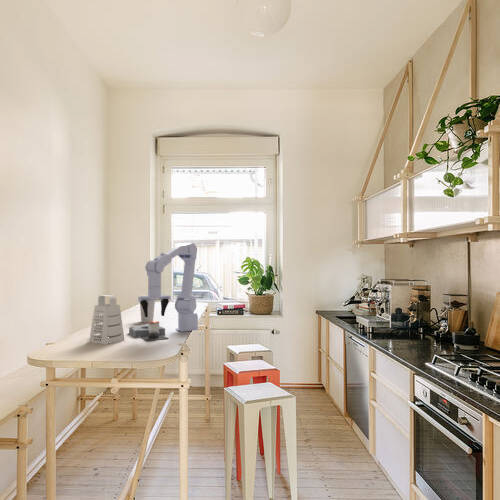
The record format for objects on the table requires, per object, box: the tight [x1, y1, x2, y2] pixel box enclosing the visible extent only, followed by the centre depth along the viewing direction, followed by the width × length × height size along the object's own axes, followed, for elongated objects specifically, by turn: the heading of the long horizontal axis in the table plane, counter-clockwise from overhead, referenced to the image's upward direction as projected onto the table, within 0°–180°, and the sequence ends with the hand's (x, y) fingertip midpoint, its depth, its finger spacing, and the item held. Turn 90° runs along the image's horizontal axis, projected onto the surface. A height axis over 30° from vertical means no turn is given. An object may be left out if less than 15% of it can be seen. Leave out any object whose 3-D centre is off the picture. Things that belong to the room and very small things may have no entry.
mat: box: [140, 335, 169, 342], centre depth 191 cm, size 10×10×1 cm
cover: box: [147, 320, 160, 338], centre depth 192 cm, size 5×5×7 cm
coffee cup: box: [139, 294, 156, 323], centre depth 240 cm, size 10×10×15 cm
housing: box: [128, 325, 166, 338], centre depth 202 cm, size 14×12×3 cm
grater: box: [88, 294, 125, 345], centre depth 185 cm, size 10×10×20 cm
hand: (154, 316), depth 191 cm, fingers open, 7 cm apart
